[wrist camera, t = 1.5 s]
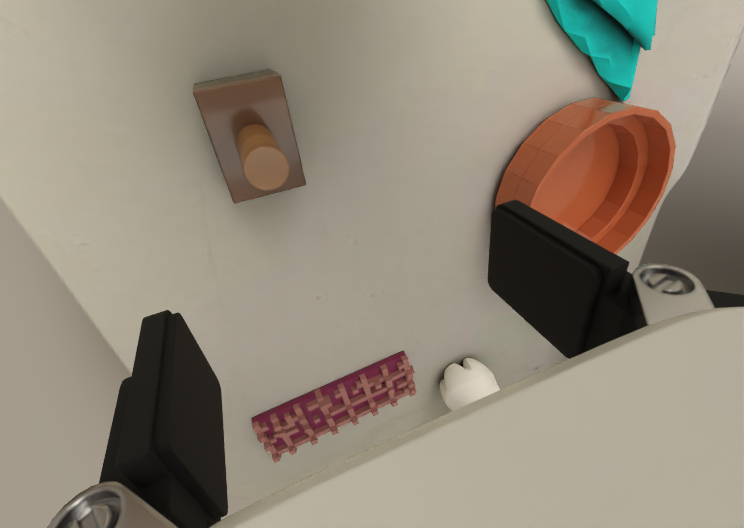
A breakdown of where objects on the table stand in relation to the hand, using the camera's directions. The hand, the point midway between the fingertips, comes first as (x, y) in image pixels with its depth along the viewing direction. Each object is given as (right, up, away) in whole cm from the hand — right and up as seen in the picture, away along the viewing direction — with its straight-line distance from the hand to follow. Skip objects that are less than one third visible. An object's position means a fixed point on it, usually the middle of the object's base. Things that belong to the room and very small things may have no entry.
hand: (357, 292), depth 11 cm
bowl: (+20, +9, +29) cm, 36 cm away
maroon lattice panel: (-3, -15, +34) cm, 38 cm away
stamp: (-8, +10, +15) cm, 20 cm away
